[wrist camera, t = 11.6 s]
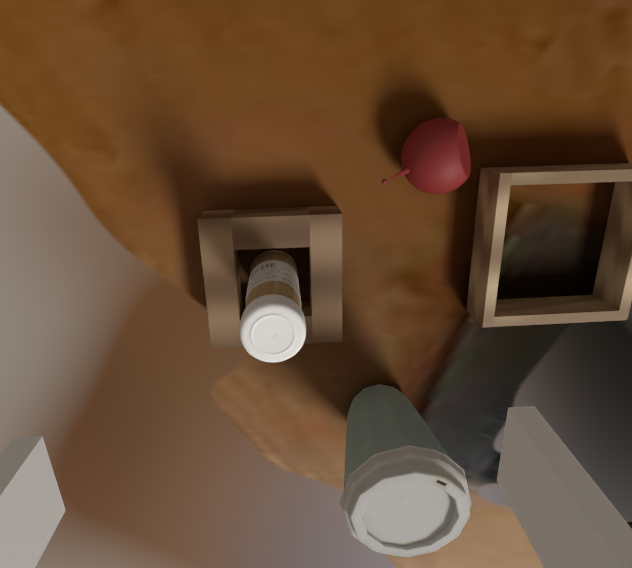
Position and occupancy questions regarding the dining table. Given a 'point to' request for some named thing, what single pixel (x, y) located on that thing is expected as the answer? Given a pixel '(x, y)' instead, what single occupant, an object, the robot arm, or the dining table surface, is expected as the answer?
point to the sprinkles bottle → (273, 309)
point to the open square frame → (603, 305)
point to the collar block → (266, 233)
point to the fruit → (436, 156)
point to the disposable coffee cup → (399, 478)
